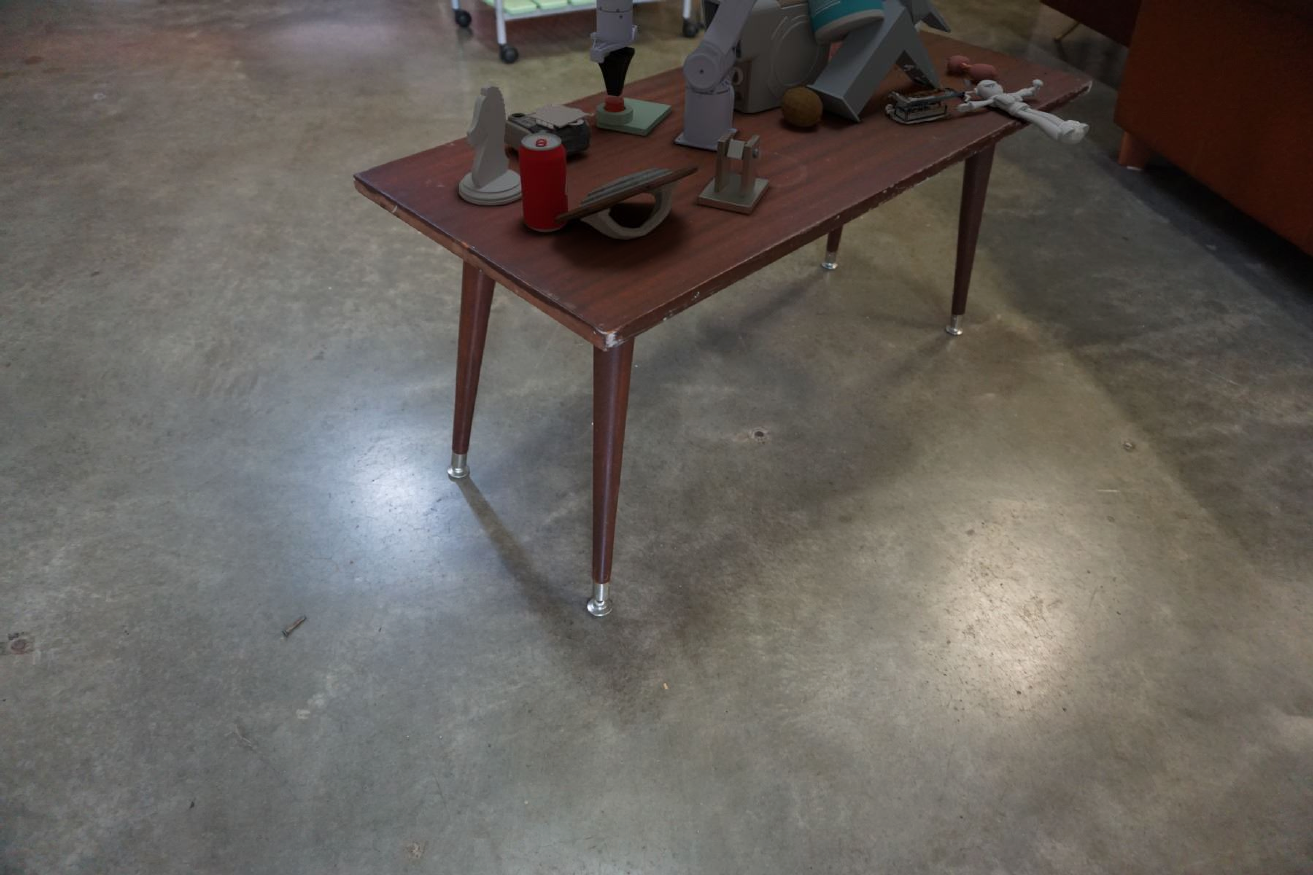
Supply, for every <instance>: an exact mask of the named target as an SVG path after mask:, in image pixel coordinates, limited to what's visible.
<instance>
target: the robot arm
mask: <svg viewBox="0 0 1313 875" xmlns="http://www.w3.org/2000/svg"><path fill="white" fill-rule="evenodd" d="M756 1H757V0H722V1H721V3H720V5H719V8H718V10H717V12H716V14H715V16H714V18H713V20H712V23H711V24H710V26H709V28H708V29H707V31H706V33H705V32H704V34H703V36H702V38H701V40H700V42H699V43H698V46H697V47H696V48H695V49H693V50H692V51H691V52H690V53H689V54H688V55H687V56H686V57H685V59H684V61H683V64H682V74H683V78H684V80H685V93H684V94H685V96H684V97H685V98H684V115H683V116H684V117H683V131H682V132H681V133H680V134H679V135H678V136H677V137H676V138H675V139H674V143H675V144H678V145H683V146H688V147H694V148H700V149H703V150H710V151H715V152H717V145H718V140H719V139H720V138H721V137H722V136H723V134H724V133H725V132H726V131H727V130H731V131H734V135H733V137H734V136H735V135H736V134H737V132H738V129H737V128H734V127H733V118H734V108H733V107H734V90H733V87H732V85H731V82H730V78H729V75H728V71H729V70H730V69H731V68H732V67H733V65H734V63H735V59H736V46H737V43H738V41H739V39H740V37H741V31H742V29H743V27H744V25H745V23H746V21H747V19H748V17H749V15H750V13H751V11H752V9H753V7H754V5H755V3H756ZM633 8H634V0H596V31H593V32H592V33H590V34H589V35H590V37H589V38H590V40H593V45H592V46H591V47H590V48H589V61H590V62H593V63H597V64H598V67H599V69H600V71H601V74H602V78H603V82H604V87H605V91H606V94H607V96H610V97H620V96H622V94H623V91H624V86H625V82H626V77H627V73H628V70H629V67H630V64H631V62H632V60H633V58H634V57H635V54H636V49H635V48H634V47H632V45H633V44H634V42H635V40H637V39H638V30H639V29H638V28H639V27H638V25H635V24H633V21H634V20H633V19H634V18H633V15H634V14H633V12H634V9H633Z"/></svg>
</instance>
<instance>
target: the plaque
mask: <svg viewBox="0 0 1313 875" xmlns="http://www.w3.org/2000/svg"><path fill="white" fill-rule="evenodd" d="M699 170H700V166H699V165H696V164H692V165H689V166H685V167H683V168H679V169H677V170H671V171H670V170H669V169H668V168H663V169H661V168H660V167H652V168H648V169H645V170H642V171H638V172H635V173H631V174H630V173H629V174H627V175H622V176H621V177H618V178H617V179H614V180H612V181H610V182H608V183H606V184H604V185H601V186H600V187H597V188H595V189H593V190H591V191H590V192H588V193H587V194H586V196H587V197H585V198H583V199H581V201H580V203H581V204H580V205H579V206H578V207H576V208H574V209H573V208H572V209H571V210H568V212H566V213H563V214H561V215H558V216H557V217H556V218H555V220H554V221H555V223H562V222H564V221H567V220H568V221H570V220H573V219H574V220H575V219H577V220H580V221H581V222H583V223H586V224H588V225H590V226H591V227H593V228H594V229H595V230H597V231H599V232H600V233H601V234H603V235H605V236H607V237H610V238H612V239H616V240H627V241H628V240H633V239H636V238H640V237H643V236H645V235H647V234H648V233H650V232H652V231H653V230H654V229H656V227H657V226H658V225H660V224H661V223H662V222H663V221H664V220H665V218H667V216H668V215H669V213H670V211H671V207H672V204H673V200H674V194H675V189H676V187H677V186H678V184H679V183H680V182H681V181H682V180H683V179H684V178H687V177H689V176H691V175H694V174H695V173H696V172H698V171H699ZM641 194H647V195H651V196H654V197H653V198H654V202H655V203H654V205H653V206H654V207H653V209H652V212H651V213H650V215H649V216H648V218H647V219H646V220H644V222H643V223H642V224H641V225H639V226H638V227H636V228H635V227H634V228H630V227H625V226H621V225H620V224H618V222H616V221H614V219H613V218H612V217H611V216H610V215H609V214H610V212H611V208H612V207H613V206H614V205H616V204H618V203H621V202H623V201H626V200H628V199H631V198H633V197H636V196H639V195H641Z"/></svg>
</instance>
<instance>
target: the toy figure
mask: <svg viewBox="0 0 1313 875" xmlns="http://www.w3.org/2000/svg"><path fill="white" fill-rule="evenodd" d="M997 82H998V81H995V80H983V81H981V82H980V81H979V83H978V84H977V85H976V87H973V90H971V91H966V93H965V96H964V98H965V100H964V102H966V103H961V104H958V105H957V106H956V107H955V109H956V111H957V112H958V113H964V112H968V111H969V112H973V111H976V110H978V109H981V108H983V107H985V106H989V107H991V108H999V109H1000V110H1003V111H1005V112H1007V113H1008V114H1009V115H1010V116H1011V117H1012V116H1013V117H1014V118H1021V119H1023V120H1025V121H1026V122H1029V123H1030V124H1032V125H1034V126H1035V127H1038V129H1040V130H1041V131H1042V132H1043V133H1044V134H1045V135H1046V136H1047V137H1048V138H1050V139H1051V140H1052V141H1053V142H1056V143H1059V144H1061V145H1067V144H1068V145H1076V144H1079V143H1080V142H1081V141H1082V140H1083V139H1084V138H1085V136H1086V134H1087V133H1088V132H1089V130H1090V125H1089V124H1087V123H1085V122H1079V121H1077V120H1073V119H1069V120H1063V119H1061V118H1060V117H1058V116H1056V115H1054V114H1052V113H1049V112H1045V111H1041V110H1037V109H1033V108H1031V106H1030V105H1028V104H1027V103H1025V102H1023V101H1024V99H1023V98H1029V97H1032V98H1033V97H1034V98H1035V97H1036V96H1037V94H1038V92H1039V91H1040V90H1041V88H1042V87H1043V86H1044V82H1043V81H1042V80H1041V79H1038V78H1036V79H1033V80H1032V83H1031V84H1032V85H1033V86H1030V87H1029V88H1026V87H1024V88H1022V89H1021V88H1020V90H1018V91H1016V92H1008V93H1007V92H1004V89H1003V87H1002V85H1001V84H999V83H997ZM970 94H975V97H979V98H980V99H982V100H979V101H973V100H970V99H971V98H972V97H971V96H970Z"/></svg>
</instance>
